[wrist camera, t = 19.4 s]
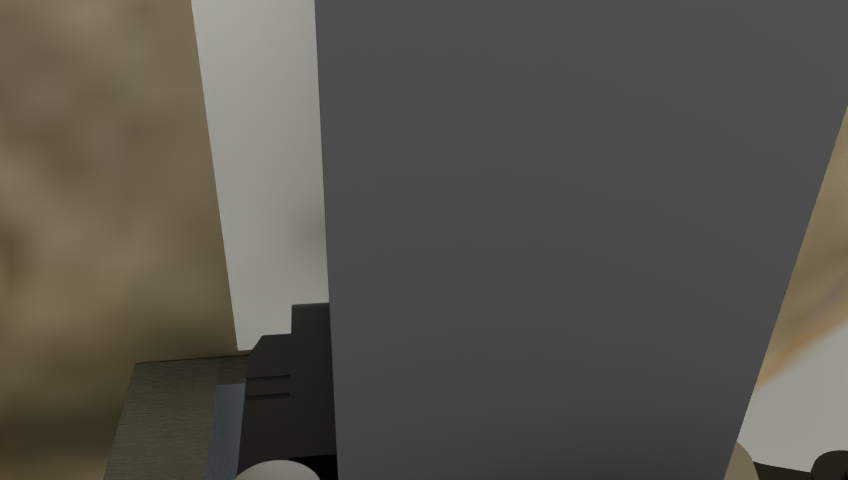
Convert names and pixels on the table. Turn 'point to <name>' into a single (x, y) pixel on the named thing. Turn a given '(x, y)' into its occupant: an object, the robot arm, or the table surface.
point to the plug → (564, 226)
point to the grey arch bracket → (181, 421)
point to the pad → (265, 156)
